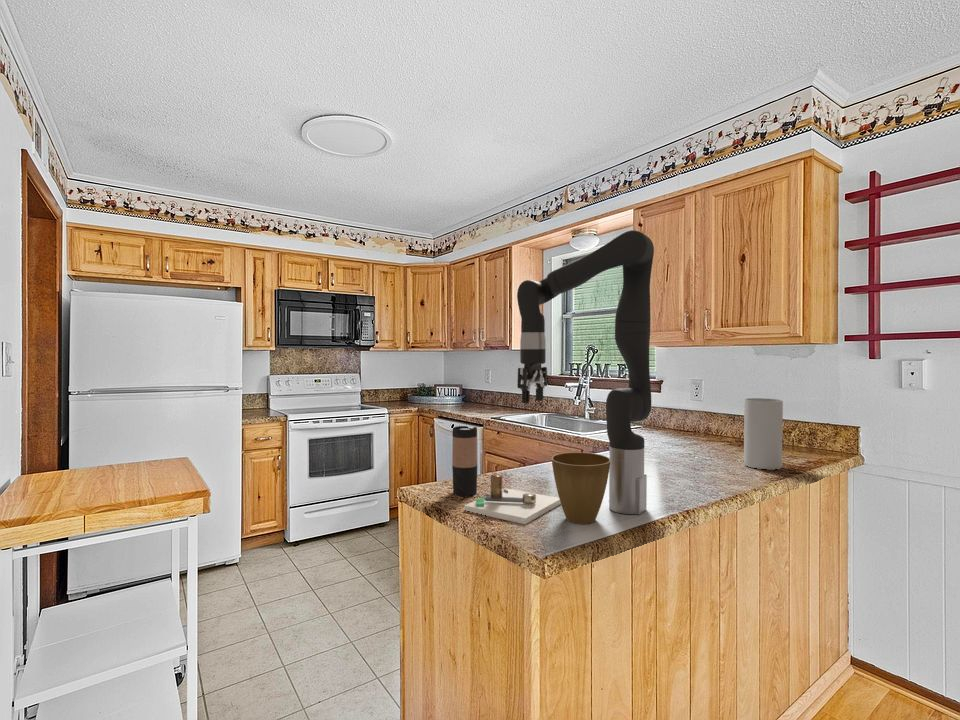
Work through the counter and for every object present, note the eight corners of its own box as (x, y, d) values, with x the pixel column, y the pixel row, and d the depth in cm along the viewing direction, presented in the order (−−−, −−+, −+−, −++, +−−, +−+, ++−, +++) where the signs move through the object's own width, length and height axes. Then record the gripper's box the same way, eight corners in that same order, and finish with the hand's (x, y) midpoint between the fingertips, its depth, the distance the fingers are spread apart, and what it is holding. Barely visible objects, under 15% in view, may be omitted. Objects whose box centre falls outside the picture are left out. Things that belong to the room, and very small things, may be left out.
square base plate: (561, 503, 147) (561, 495, 147) (525, 524, 129) (525, 515, 129) (503, 492, 158) (503, 485, 158) (462, 510, 140) (462, 502, 140)
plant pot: (546, 511, 140) (546, 452, 139) (600, 510, 141) (600, 451, 140) (558, 530, 125) (558, 465, 125) (618, 529, 126) (618, 464, 126)
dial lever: (536, 500, 143) (536, 475, 143) (535, 504, 139) (535, 478, 139) (486, 498, 145) (486, 473, 145) (485, 502, 141) (484, 476, 141)
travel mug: (455, 497, 153) (455, 430, 152) (450, 490, 160) (449, 426, 160) (480, 495, 155) (480, 429, 154) (473, 489, 162) (473, 425, 162)
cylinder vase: (736, 464, 196) (736, 399, 195) (759, 461, 200) (760, 397, 200) (765, 472, 184) (766, 402, 184) (789, 468, 189) (790, 400, 188)
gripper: (532, 347, 146) (532, 404, 147) (554, 347, 158) (554, 400, 159) (509, 347, 151) (509, 403, 151) (533, 347, 162) (533, 399, 163)
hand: (532, 401), depth 155 cm, fingers open, 8 cm apart
